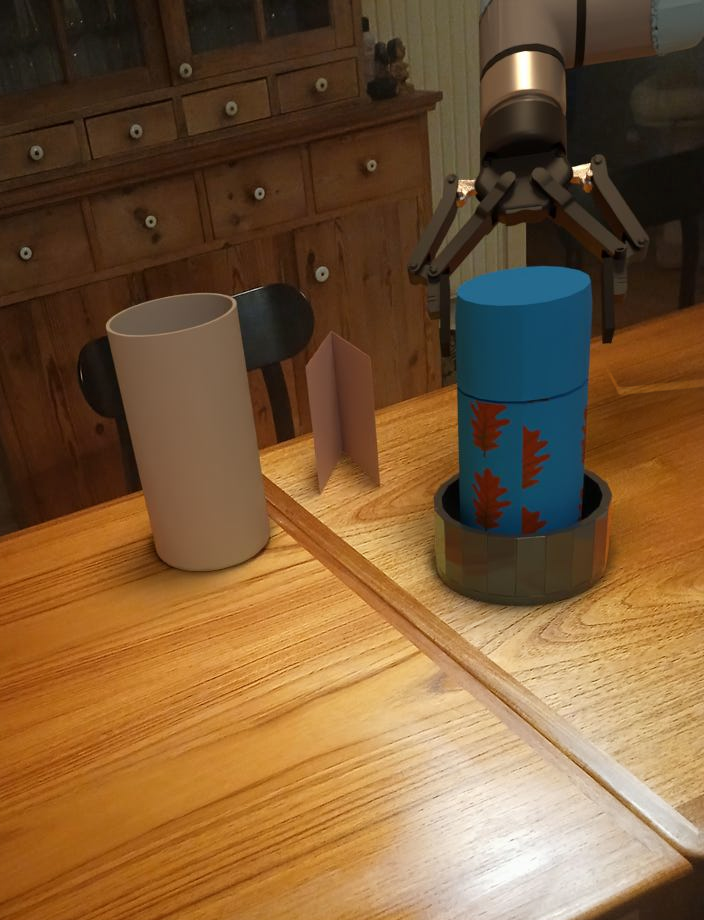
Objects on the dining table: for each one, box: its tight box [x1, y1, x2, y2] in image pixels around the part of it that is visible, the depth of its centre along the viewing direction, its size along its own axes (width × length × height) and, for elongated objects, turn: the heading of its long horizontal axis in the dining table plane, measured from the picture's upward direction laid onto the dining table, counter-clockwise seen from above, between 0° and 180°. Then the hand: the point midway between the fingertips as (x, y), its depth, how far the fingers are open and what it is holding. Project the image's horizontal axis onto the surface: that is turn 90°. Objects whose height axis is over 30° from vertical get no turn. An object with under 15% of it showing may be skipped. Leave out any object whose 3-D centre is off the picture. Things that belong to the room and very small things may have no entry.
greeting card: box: [305, 330, 381, 495], centre depth 112 cm, size 11×7×15 cm, turn 161°
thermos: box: [454, 265, 593, 534], centre depth 87 cm, size 11×11×25 cm
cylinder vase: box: [105, 292, 271, 572], centre depth 100 cm, size 12×12×25 cm
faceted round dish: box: [432, 468, 613, 607], centre depth 92 cm, size 16×16×7 cm
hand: (525, 344), depth 86 cm, fingers open, 13 cm apart
